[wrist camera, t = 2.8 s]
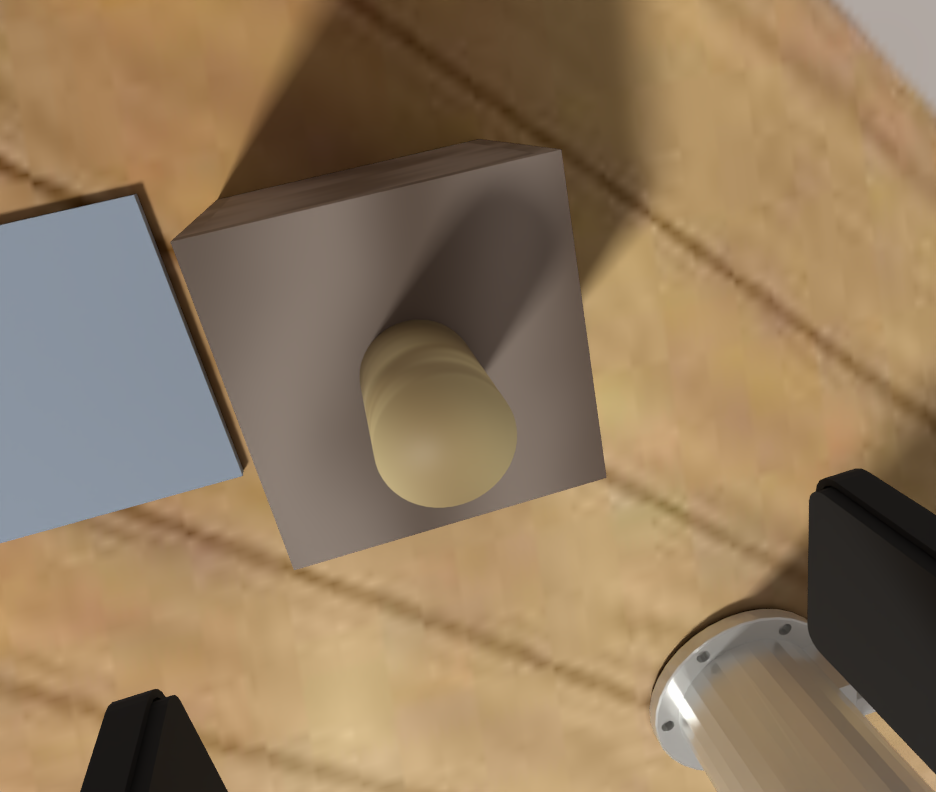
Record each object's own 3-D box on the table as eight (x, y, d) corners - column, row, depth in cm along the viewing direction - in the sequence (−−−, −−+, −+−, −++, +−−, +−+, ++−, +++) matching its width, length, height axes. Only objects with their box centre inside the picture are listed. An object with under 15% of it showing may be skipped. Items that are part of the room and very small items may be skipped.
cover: (479, 139, 30) (635, 158, 16) (522, 376, 34) (673, 559, 20) (217, 199, 28) (126, 281, 14) (298, 437, 33) (290, 679, 19)
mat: (136, 193, 28) (133, 195, 27) (243, 470, 33) (242, 475, 32) (-213, 272, 26) (-222, 275, 26) (-43, 550, 31) (-48, 556, 31)
